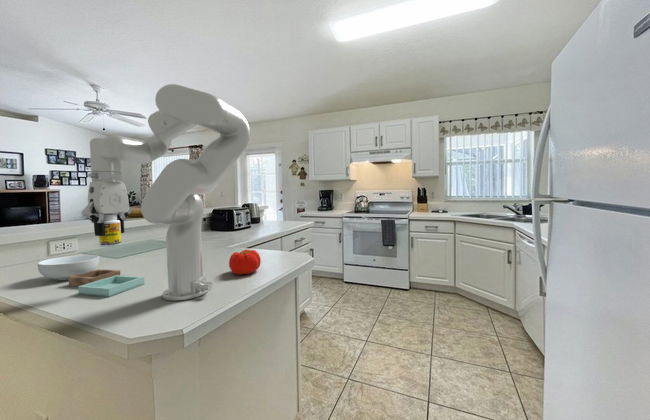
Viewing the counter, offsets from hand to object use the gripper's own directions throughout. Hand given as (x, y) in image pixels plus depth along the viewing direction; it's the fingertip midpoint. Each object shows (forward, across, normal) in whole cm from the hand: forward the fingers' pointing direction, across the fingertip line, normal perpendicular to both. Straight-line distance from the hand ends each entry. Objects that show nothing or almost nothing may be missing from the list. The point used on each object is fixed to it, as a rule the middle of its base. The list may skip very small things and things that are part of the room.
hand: (110, 233), depth 86 cm
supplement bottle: (+4, 0, 0) cm, 4 cm away
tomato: (+19, +25, -33) cm, 45 cm away
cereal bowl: (+19, +8, +30) cm, 36 cm away
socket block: (+18, +5, +14) cm, 24 cm away
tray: (+18, 0, 0) cm, 18 cm away
